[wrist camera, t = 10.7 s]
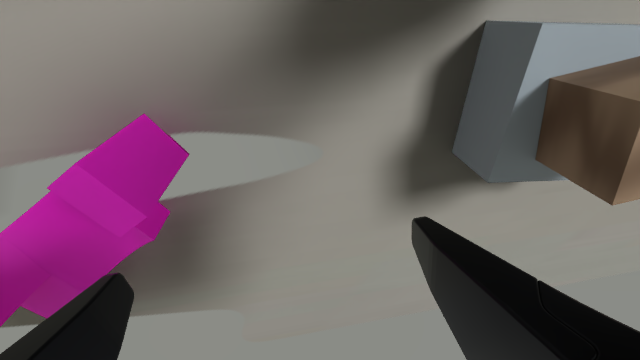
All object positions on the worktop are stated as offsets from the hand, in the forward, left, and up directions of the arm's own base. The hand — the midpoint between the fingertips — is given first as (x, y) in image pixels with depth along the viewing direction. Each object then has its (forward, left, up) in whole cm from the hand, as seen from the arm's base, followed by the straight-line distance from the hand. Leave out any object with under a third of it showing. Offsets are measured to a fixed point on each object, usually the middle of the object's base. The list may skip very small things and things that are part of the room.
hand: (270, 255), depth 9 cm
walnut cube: (-11, +14, -8) cm, 20 cm away
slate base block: (-11, +14, -13) cm, 22 cm away
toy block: (+12, -7, -13) cm, 20 cm away
